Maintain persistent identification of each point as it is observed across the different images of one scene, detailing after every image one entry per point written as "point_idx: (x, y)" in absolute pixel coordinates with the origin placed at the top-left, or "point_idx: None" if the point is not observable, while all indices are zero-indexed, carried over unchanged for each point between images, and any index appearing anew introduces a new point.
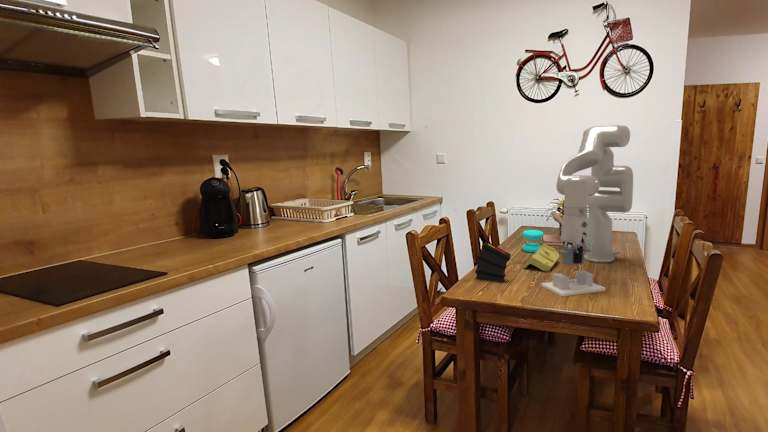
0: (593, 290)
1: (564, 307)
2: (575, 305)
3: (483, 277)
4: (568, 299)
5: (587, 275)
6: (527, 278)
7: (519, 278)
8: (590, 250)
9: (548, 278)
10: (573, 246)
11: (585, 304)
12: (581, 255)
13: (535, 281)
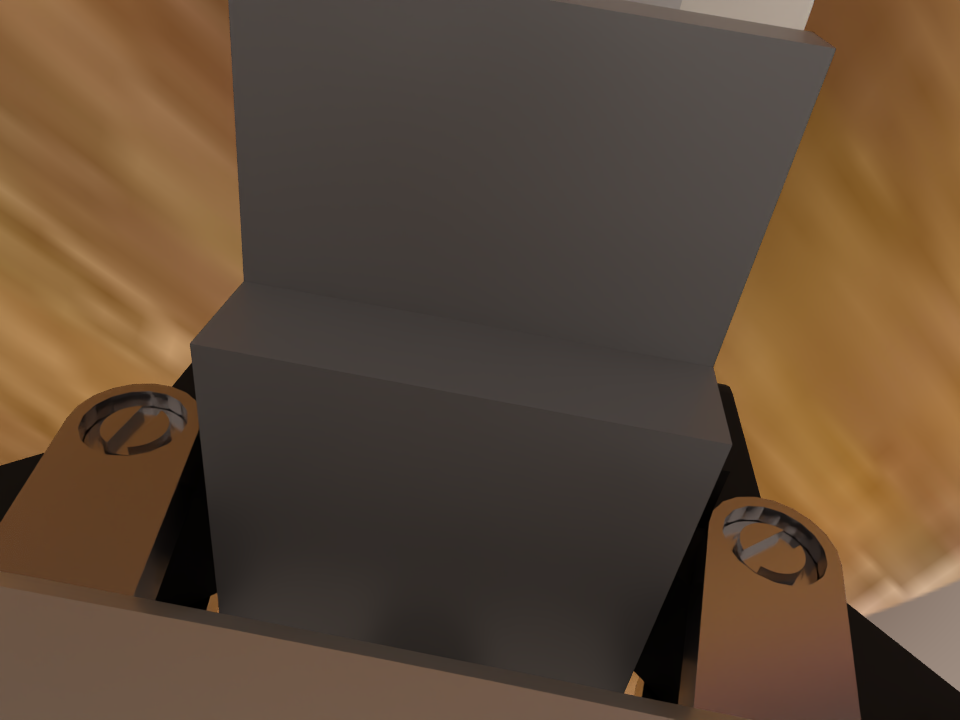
0: (809, 6)
1: (843, 567)
2: (887, 482)
3: None
4: (747, 424)
5: (679, 4)
6: (33, 300)
7: (22, 364)
8: (830, 49)
9: (69, 87)
10: (308, 565)
11: (947, 402)
12: (753, 488)
13: (152, 302)
